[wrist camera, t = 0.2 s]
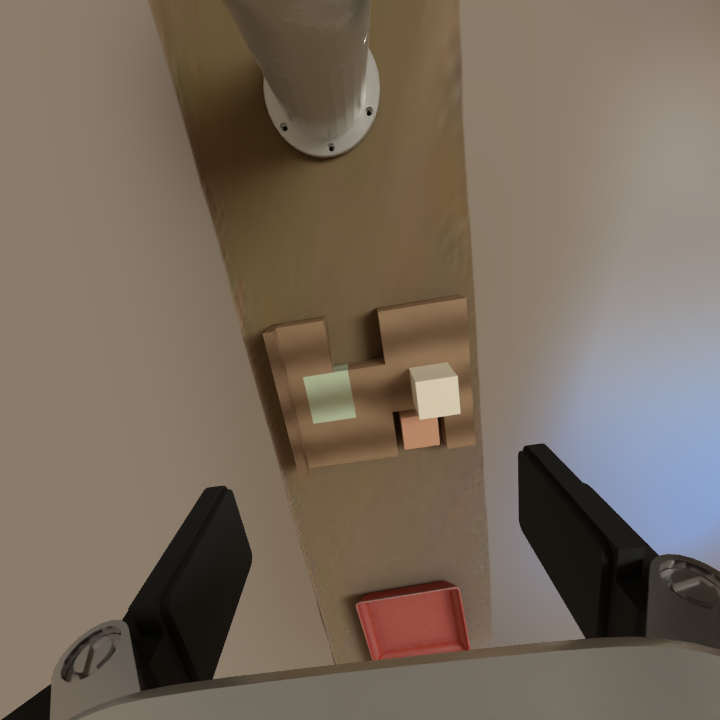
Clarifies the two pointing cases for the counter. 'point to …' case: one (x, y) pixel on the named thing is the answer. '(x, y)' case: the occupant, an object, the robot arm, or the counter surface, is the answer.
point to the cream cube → (435, 390)
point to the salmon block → (418, 430)
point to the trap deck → (367, 382)
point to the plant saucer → (414, 621)
